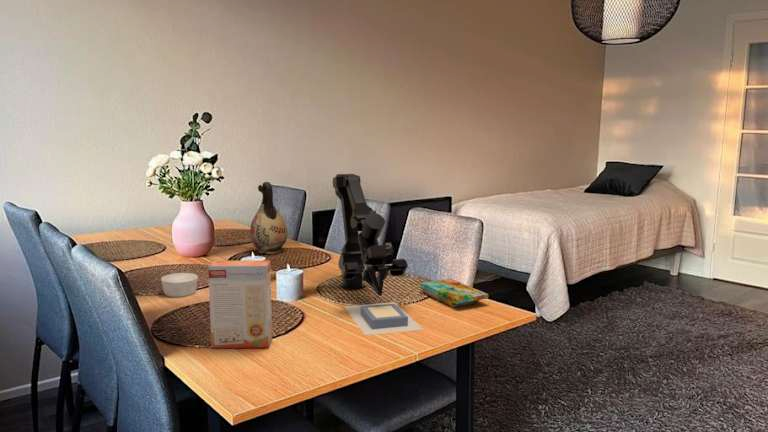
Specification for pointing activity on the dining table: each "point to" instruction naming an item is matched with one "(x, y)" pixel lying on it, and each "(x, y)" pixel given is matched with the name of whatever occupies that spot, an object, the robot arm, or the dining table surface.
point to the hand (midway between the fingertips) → (380, 295)
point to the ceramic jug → (268, 224)
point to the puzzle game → (452, 292)
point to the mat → (367, 330)
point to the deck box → (384, 316)
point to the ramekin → (179, 284)
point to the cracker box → (240, 304)
